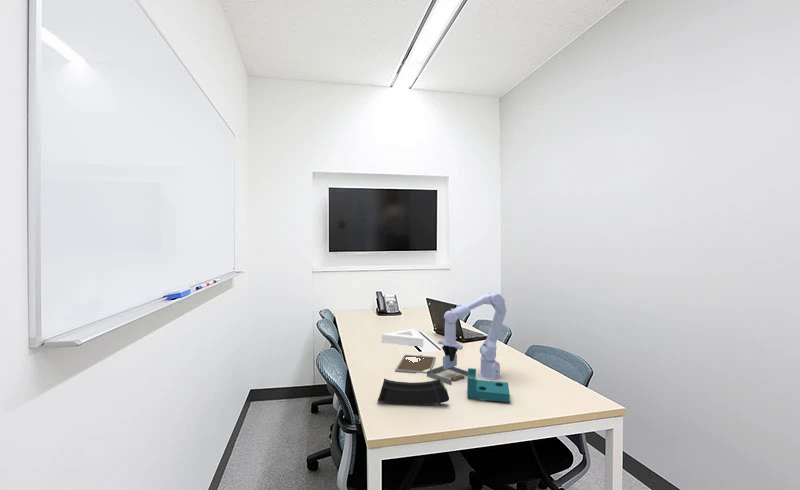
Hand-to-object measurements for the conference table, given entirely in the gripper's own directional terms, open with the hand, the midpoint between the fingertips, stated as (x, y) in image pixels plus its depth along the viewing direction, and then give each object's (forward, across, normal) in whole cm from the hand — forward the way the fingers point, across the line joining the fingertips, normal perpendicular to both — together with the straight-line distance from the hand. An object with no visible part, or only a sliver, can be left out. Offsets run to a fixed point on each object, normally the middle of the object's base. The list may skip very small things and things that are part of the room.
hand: (449, 360), depth 186 cm
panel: (+3, 0, 0) cm, 3 cm away
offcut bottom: (+9, +6, -1) cm, 11 cm away
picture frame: (+9, -25, +1) cm, 27 cm away
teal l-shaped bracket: (+9, +27, -6) cm, 29 cm away
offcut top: (+8, +6, -1) cm, 10 cm away
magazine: (+9, +10, -36) cm, 39 cm away
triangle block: (+9, -58, +28) cm, 65 cm away
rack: (+8, 0, -1) cm, 8 cm away
